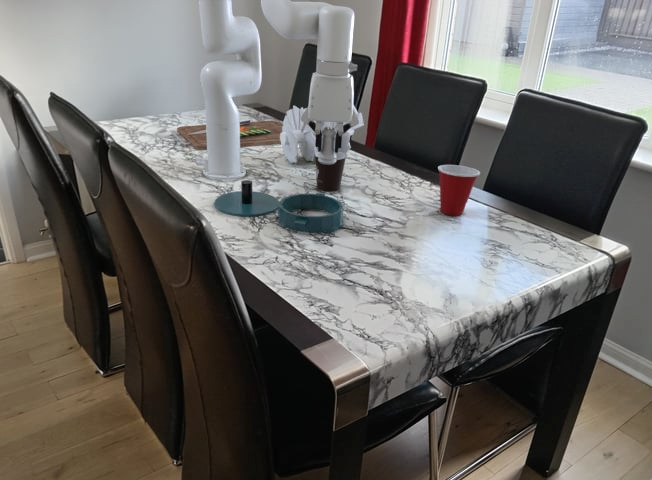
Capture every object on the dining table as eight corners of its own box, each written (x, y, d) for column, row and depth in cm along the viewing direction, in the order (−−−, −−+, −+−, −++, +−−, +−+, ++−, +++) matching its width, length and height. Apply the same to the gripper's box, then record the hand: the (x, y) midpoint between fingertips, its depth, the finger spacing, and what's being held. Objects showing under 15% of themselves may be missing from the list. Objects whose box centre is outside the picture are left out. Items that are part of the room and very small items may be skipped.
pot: (267, 233, 136) (267, 215, 133) (291, 203, 154) (292, 187, 151) (331, 243, 133) (332, 225, 131) (348, 211, 151) (350, 194, 149)
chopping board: (188, 151, 189) (188, 141, 188) (168, 130, 210) (167, 122, 208) (311, 140, 208) (311, 132, 207) (281, 123, 229) (281, 115, 227)
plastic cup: (474, 208, 157) (482, 165, 151) (469, 222, 148) (478, 177, 142) (434, 201, 160) (441, 159, 154) (427, 215, 151) (434, 170, 145)
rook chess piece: (323, 165, 134) (325, 131, 131) (314, 160, 138) (316, 126, 134) (339, 164, 136) (342, 130, 132) (331, 158, 140) (333, 125, 136)
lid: (204, 213, 144) (203, 188, 141) (228, 192, 158) (228, 168, 155) (267, 222, 141) (267, 196, 138) (286, 200, 155) (287, 176, 152)
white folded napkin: (277, 171, 189) (343, 160, 199) (299, 163, 173) (369, 151, 183) (265, 115, 186) (332, 106, 196) (287, 101, 170) (358, 92, 181)
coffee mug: (340, 196, 160) (343, 161, 155) (310, 192, 161) (311, 157, 156) (347, 183, 170) (349, 149, 165) (318, 179, 171) (320, 146, 166)
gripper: (369, 68, 130) (362, 148, 139) (296, 63, 130) (294, 144, 139) (371, 73, 123) (363, 157, 133) (294, 68, 123) (291, 153, 132)
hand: (327, 149), depth 136 cm, fingers closed on rook chess piece, 3 cm apart
